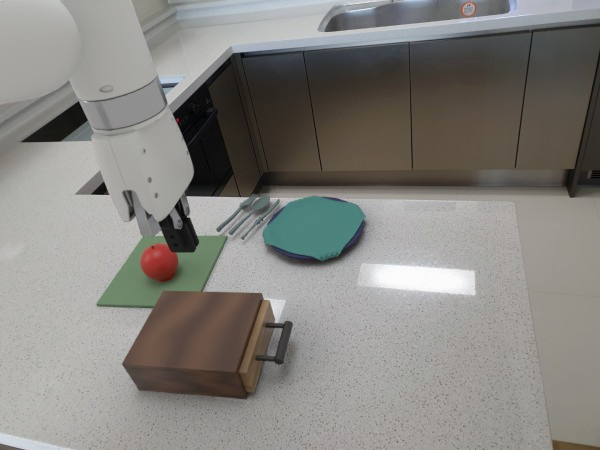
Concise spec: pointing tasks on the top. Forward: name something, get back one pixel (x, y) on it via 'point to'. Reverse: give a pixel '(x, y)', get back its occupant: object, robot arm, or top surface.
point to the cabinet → (194, 343)
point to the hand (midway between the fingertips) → (185, 247)
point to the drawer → (262, 345)
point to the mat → (145, 291)
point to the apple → (159, 262)
